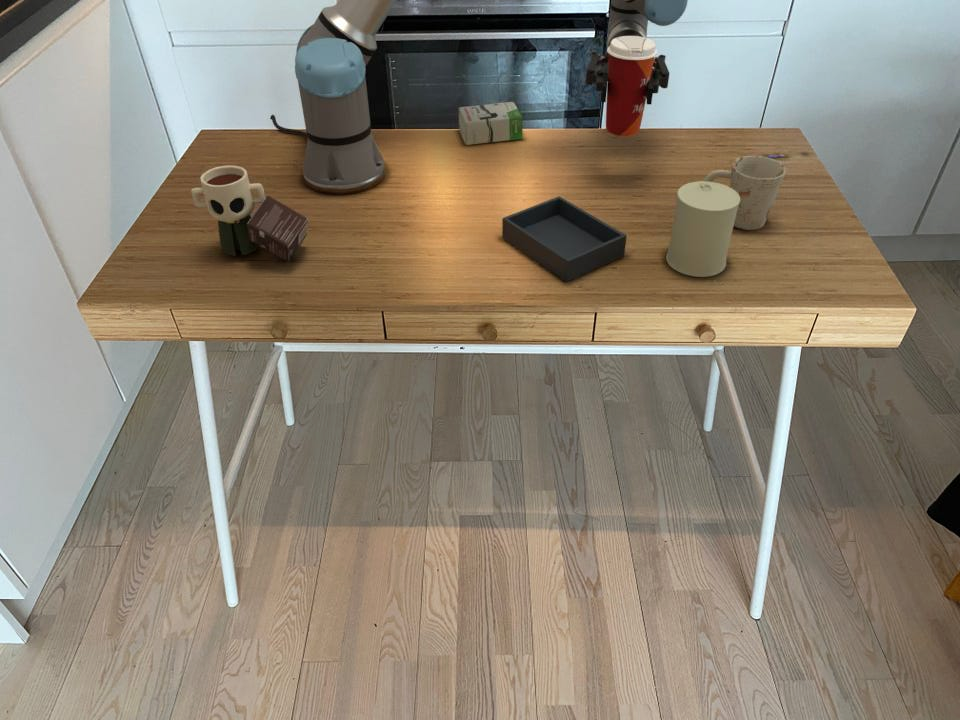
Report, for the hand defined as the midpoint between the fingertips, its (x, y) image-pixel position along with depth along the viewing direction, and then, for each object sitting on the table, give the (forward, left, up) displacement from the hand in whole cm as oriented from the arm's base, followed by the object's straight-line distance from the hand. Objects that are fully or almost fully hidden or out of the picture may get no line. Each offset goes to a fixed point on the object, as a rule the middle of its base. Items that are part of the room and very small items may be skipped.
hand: (627, 95), depth 128 cm
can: (+24, -6, -18) cm, 31 cm away
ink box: (-31, +2, -15) cm, 35 cm away
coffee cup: (-4, +3, -8) cm, 10 cm away
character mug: (-23, -62, -18) cm, 69 cm away
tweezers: (+9, +34, -17) cm, 39 cm away
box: (-14, -56, -14) cm, 59 cm away
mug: (+19, +9, -18) cm, 28 cm away
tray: (+8, -20, -18) cm, 28 cm away
